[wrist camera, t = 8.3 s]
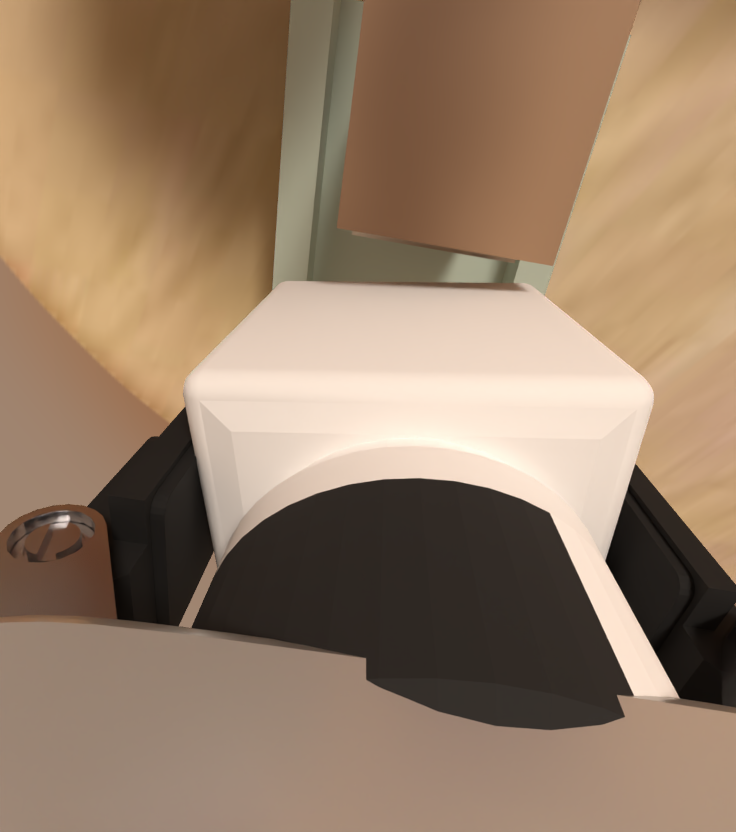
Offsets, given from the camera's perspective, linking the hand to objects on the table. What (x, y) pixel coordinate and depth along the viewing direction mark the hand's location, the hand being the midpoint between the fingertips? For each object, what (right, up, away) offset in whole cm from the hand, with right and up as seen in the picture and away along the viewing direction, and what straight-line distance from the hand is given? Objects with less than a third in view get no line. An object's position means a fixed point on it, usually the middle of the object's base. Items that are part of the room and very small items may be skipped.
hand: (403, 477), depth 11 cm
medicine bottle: (0, +2, +4) cm, 5 cm away
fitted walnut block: (+2, +13, +9) cm, 16 cm away
